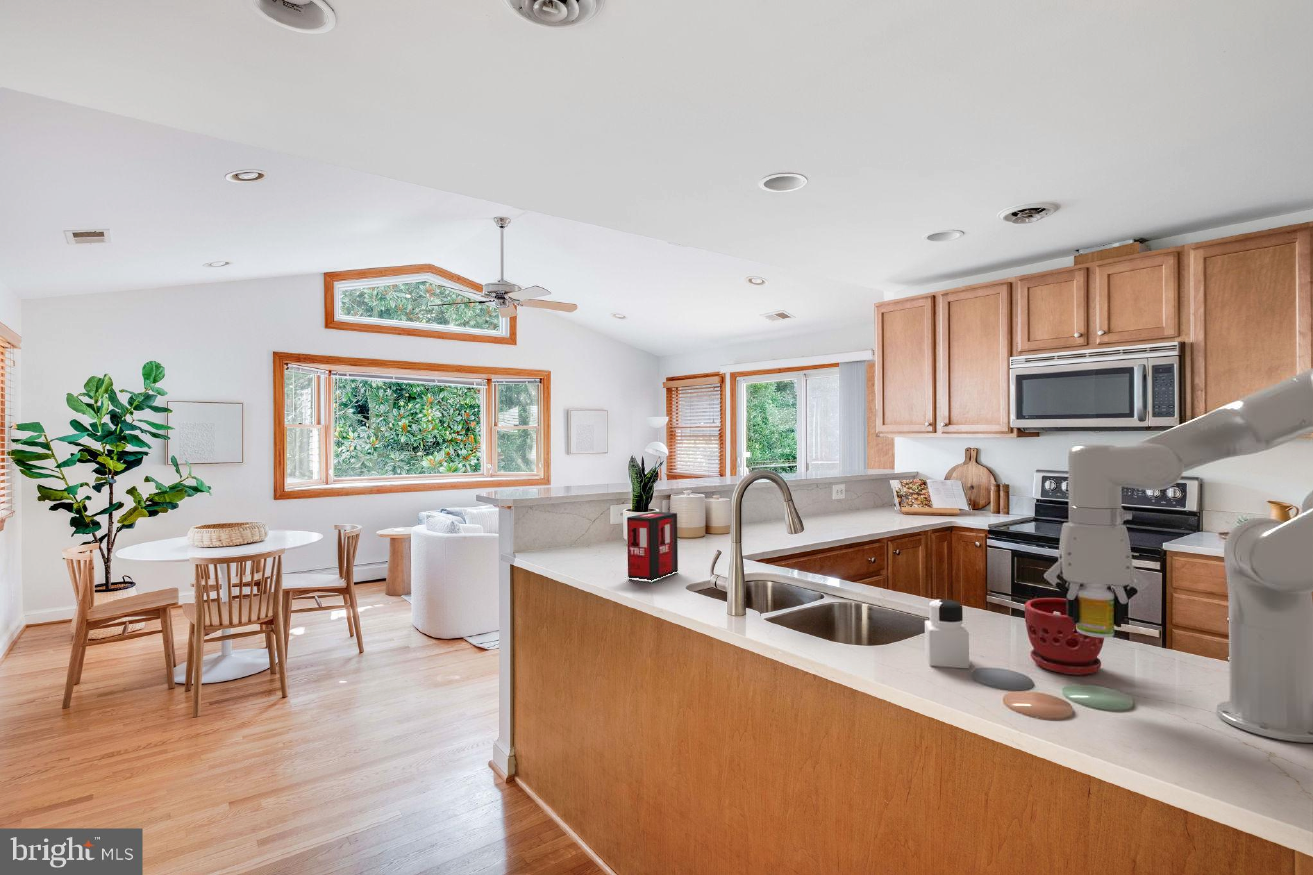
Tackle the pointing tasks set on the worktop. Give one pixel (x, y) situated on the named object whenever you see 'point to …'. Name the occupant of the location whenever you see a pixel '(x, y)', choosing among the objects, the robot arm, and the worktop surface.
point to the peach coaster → (1038, 705)
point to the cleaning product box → (652, 545)
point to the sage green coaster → (1098, 697)
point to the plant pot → (1059, 639)
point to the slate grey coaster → (1002, 679)
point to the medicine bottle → (946, 635)
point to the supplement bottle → (1095, 610)
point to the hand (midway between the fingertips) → (1094, 622)
